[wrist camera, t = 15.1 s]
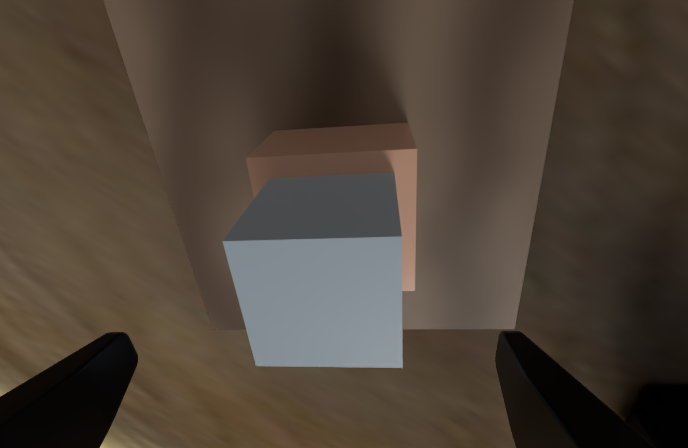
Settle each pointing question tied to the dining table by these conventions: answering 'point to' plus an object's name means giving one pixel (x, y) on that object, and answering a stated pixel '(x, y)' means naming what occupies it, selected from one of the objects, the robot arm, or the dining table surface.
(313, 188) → the grey blue cube
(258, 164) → the terracotta block
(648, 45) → the dining table surface
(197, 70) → the walnut base
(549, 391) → the robot arm
